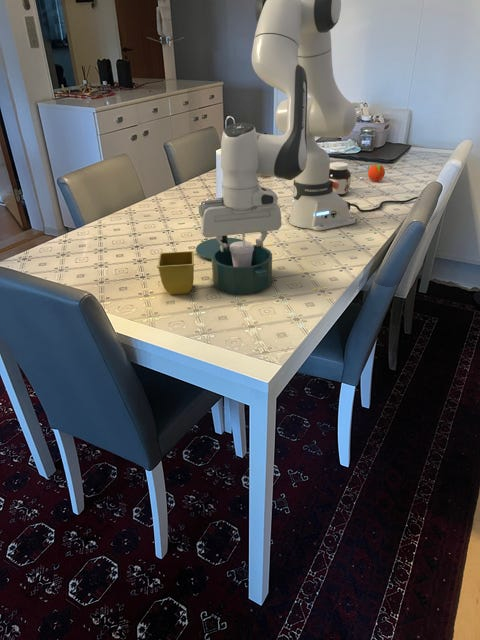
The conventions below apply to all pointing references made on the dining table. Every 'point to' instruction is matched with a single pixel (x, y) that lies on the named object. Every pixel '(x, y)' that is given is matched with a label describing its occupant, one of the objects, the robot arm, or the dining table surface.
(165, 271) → the flower pot
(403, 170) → the dining table surface
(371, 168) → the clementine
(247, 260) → the smoothie
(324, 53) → the robot arm
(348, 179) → the spread jar
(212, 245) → the lid
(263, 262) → the pot
